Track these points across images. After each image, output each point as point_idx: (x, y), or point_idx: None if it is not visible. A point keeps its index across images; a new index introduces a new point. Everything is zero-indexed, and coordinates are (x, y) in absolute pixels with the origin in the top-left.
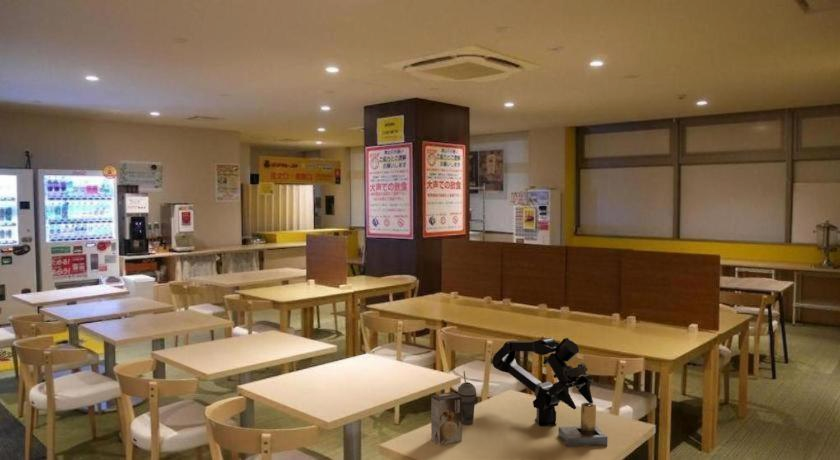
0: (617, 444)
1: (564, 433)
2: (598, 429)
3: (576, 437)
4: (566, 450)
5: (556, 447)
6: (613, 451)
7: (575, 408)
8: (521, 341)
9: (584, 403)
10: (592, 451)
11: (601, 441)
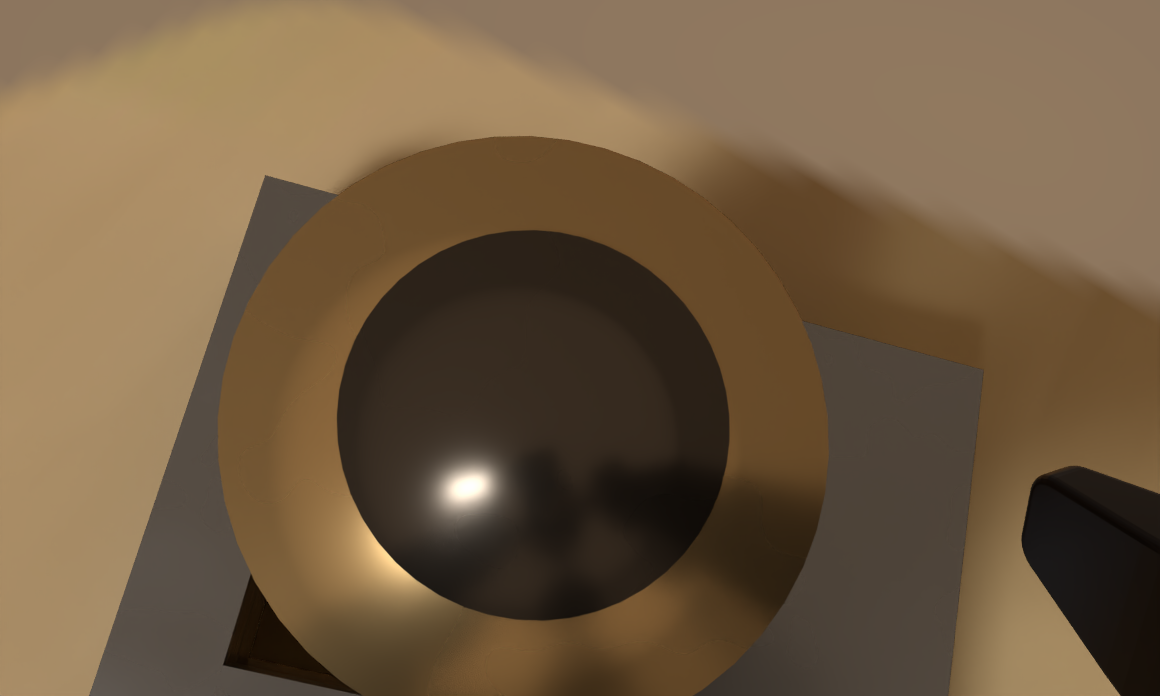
0: (89, 202)
1: (956, 577)
2: (177, 541)
3: (834, 346)
4: (986, 301)
5: (1079, 438)
6: (348, 30)
7: (1058, 478)
8: None
9: (586, 665)
10: (649, 142)
11: None
